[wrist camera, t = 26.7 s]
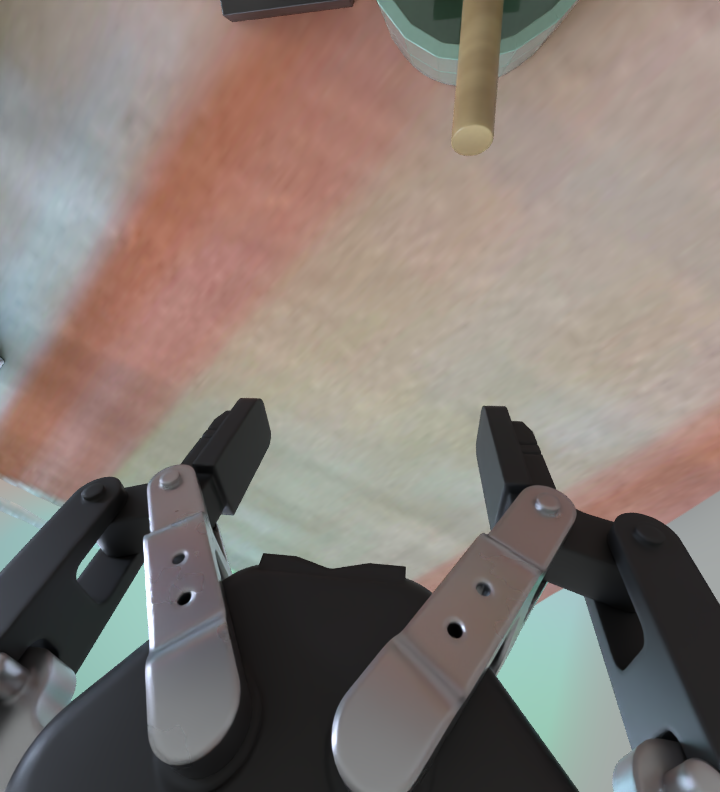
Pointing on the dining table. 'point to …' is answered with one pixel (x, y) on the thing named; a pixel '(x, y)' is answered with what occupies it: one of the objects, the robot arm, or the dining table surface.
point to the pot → (441, 25)
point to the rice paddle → (477, 76)
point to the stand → (276, 7)
